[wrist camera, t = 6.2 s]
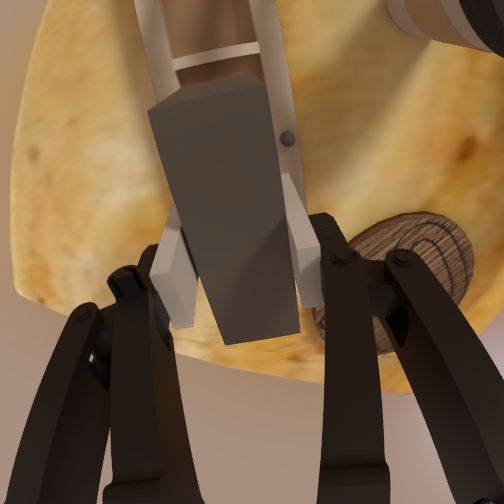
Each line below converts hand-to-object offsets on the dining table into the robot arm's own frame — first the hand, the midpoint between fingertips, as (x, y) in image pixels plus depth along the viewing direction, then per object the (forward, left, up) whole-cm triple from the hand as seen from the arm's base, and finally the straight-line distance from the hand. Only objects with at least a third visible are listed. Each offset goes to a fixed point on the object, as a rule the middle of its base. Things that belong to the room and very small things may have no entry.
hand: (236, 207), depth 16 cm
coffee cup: (-20, -12, -15) cm, 28 cm away
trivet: (-18, +24, -15) cm, 34 cm away
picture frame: (0, 0, -4) cm, 4 cm away
